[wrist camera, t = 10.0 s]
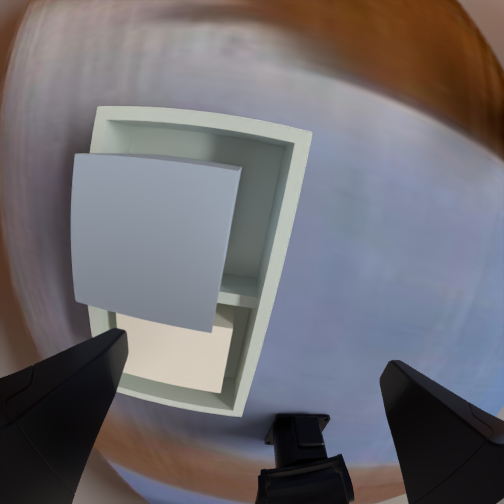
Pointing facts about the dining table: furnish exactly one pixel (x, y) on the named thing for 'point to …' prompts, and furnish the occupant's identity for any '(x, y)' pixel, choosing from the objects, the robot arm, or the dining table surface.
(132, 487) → the dining table surface
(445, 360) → the dining table surface
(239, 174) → the plain light gray block
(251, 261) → the divided tray
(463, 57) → the dining table surface
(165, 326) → the beige rectangular block
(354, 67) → the dining table surface
